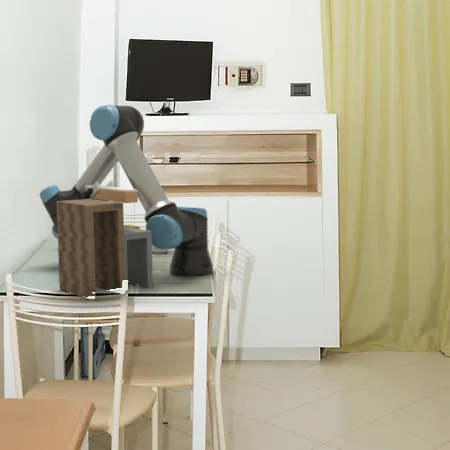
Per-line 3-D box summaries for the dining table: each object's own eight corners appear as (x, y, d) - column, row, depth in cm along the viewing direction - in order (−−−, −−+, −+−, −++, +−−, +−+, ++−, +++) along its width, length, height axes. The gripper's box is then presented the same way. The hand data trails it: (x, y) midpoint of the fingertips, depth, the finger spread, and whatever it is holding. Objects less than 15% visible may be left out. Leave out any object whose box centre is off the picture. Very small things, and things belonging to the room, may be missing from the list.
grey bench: (94, 282, 249) (92, 228, 247) (123, 278, 256) (122, 225, 254) (123, 291, 235) (121, 234, 233) (152, 286, 242) (151, 231, 240)
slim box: (85, 197, 256) (84, 185, 255) (97, 196, 259) (97, 185, 258) (125, 203, 236) (125, 190, 235) (138, 202, 238) (137, 189, 238)
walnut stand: (59, 289, 239) (56, 201, 236) (93, 284, 247) (90, 198, 243) (90, 299, 224) (87, 205, 220) (125, 294, 231) (123, 203, 228)
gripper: (102, 222, 271) (131, 193, 254) (56, 226, 260) (84, 196, 243) (96, 203, 273) (125, 173, 256) (51, 206, 262) (78, 175, 245)
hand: (105, 185), depth 249 cm, fingers closed on slim box, 5 cm apart
